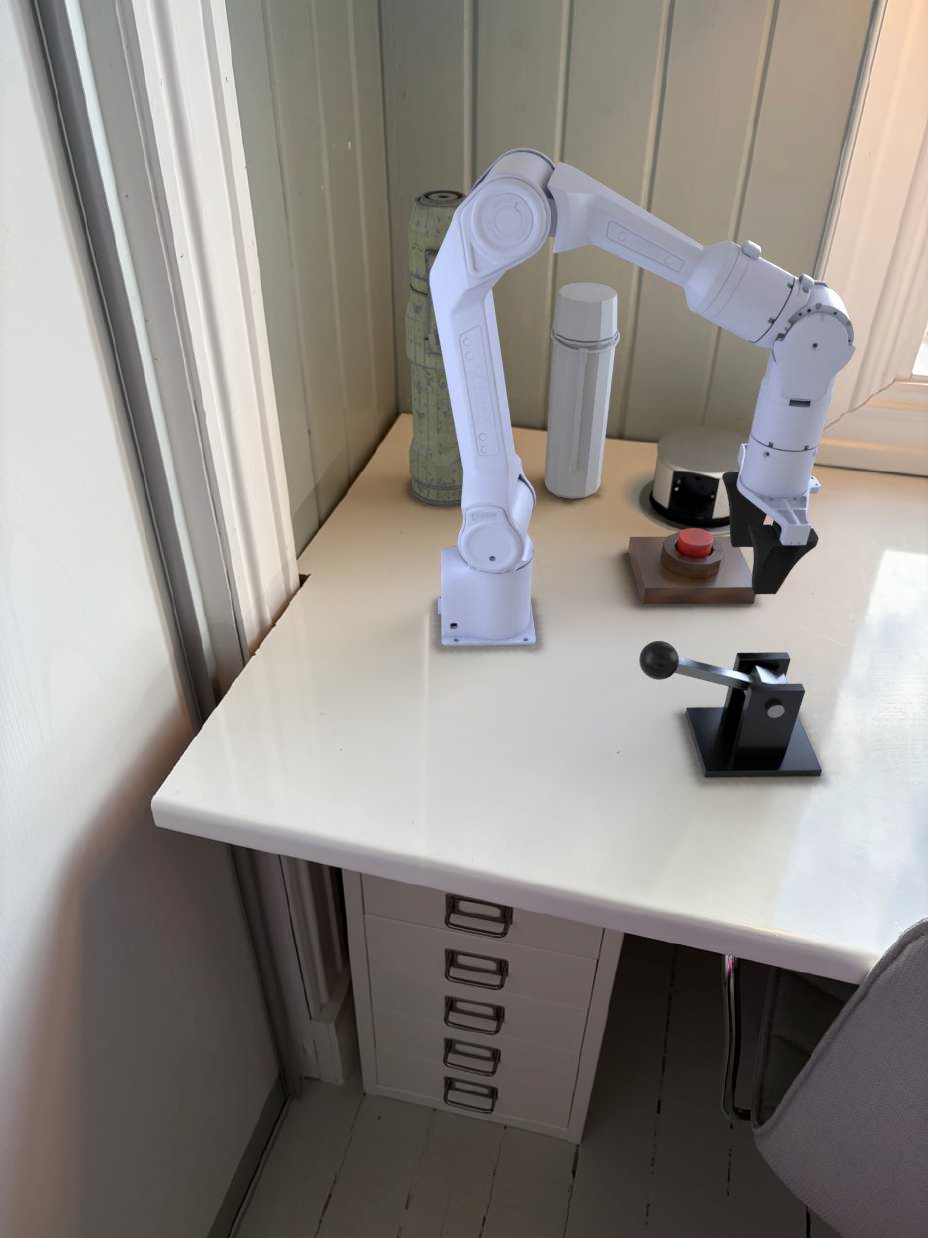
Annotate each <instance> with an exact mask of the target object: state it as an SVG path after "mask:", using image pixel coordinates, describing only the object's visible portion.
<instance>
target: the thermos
mask: <svg viewBox="0 0 928 1238" xmlns="http://www.w3.org/2000/svg"><path fill="white" fill-rule="evenodd" d="M466 197H467V195H466V194H465V193H463V192H461V191H457V190H450V189H436V190H428V191H425V192H423V193H421V195H418V196H417V197H415V198H414V202H413V206H412V210H411V213H410V217H409V219H408V225H407V238H408V239H407V242H408V243H407V244H408V271H409V273H410V276H411V277H410V279H411V280H410V284H409V298H408V300H407V304H406V307H405V312H404V319H405V320H404V321H405V323H404V325H405V351H406V352H405V355H406V358H407V360H408V362H409V364H410V378H411V379H410V382H411V385H410V386H411V411H412V412H411V413H412V415H411V417H412V438H411V442H410V445H409V450H408V457H409V458H408V459H409V474H410V476H411V492H412V494H413V496H414V497H415V498H416V499H418V500H419V501H421V502H423V503H425V504H429V505H432V506H433V505H434V506H438V507H439V506H441V507H442V506H443V507H449V506H450V507H452V506H457V505H461V499H462V485H463V467H462V462H461V456H460V451H459V445H458V439H457V434H456V428H455V423H454V417H453V412H452V406H451V400H450V395H449V389H448V384H447V378H446V372H445V367H444V361H443V356H442V350H441V345H440V339H439V333H438V328H437V322H436V317H435V311H434V305H433V300H432V294H431V289H430V271H431V268H432V266H433V264H434V261H435V259H436V257H437V255H438V252H439V250H440V248H441V245H442V243H443V241H444V238H445V236H446V234H447V231H448V229H449V227H450V224H451V222H452V219H453V216H454V213H455V211H456V209H457V208H458V206H459V205H460V204H461V203H462V202H463V201H464V200H465V198H466Z"/></svg>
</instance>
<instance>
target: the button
mask: <svg viewBox="0 0 928 1238" xmlns="http://www.w3.org/2000/svg"><path fill="white" fill-rule="evenodd" d="M680 531H681V532H680ZM680 531H679V532H680V534H679V539H678V544H677V550H678V552H679V553H680V554H682V555H684V556H688V557H691V558H705V557H708V556H709V555H710V552H711V547H712V542H713V537H712V536H713V535H712V534H711V533H710V532H709V531H707V530H705V529H703V528H697V527H688V528H684V529H682V530H680Z"/></svg>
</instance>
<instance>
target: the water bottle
mask: <svg viewBox="0 0 928 1238" xmlns="http://www.w3.org/2000/svg"><path fill="white" fill-rule="evenodd" d="M555 305H556V306H555V311H554V317H553V323H552V328H551V329H550V338H551V339H552V341H553V343H552V357H551V370H550V371H551V373H550V387H549V403H548V418H547V430H546V431H547V433H546V446H545V447H546V448H545V459H544V461H545V462H544V475H543V476H544V477H543V481H544V484H545V487H546V489H547V490H548V492H550V493H552V494H553V495H554V496H556V497H559V498H564V499H570V500H578V499H585V498H588V497H590V496H592V495H594V494H595V493H596V492H597V491H598V489H599V487H600V486H601V480H602V479H601V478H602V471H603V463H604V455H605V454H604V452H605V445H606V435H607V426H608V419H609V410H610V409H609V408H610V398H611V390H612V380H613V371H614V363H615V354H616V353H615V352H616V346H617V344H618V343H619V342H620V337H621V333H620V332H619V329H618V292H617V291H616V290H615V288H613V287H611V286H608V285H606V284H604V283H603V284H602V283H596V282H590V281H589V282H588V281H587V282H573V283H568V284H565V285H563V286H561V287H560V288H559V290H558V293H557V300H556V304H555Z"/></svg>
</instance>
